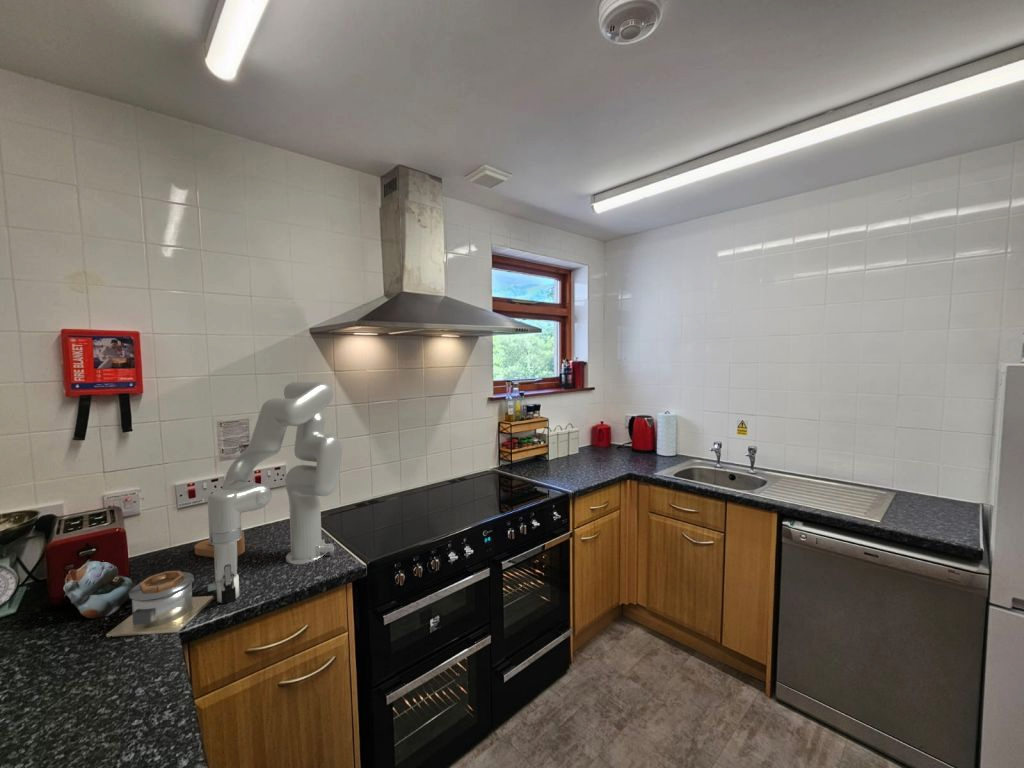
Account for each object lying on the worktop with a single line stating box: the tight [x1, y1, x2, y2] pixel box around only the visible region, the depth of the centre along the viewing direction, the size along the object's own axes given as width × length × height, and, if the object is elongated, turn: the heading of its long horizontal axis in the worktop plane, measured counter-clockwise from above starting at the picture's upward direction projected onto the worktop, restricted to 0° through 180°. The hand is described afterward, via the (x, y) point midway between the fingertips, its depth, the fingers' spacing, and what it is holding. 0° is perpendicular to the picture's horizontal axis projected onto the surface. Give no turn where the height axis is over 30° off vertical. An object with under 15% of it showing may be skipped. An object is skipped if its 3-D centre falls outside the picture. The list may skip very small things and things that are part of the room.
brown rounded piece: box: [194, 530, 246, 558], centre depth 149 cm, size 18×8×7 cm, turn 74°
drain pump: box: [207, 573, 240, 604], centre depth 119 cm, size 7×5×7 cm
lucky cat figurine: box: [63, 558, 135, 619], centre depth 115 cm, size 15×12×14 cm
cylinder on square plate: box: [105, 570, 215, 638], centre depth 111 cm, size 16×15×10 cm
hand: (228, 597), depth 120 cm, fingers closed on drain pump, 5 cm apart
